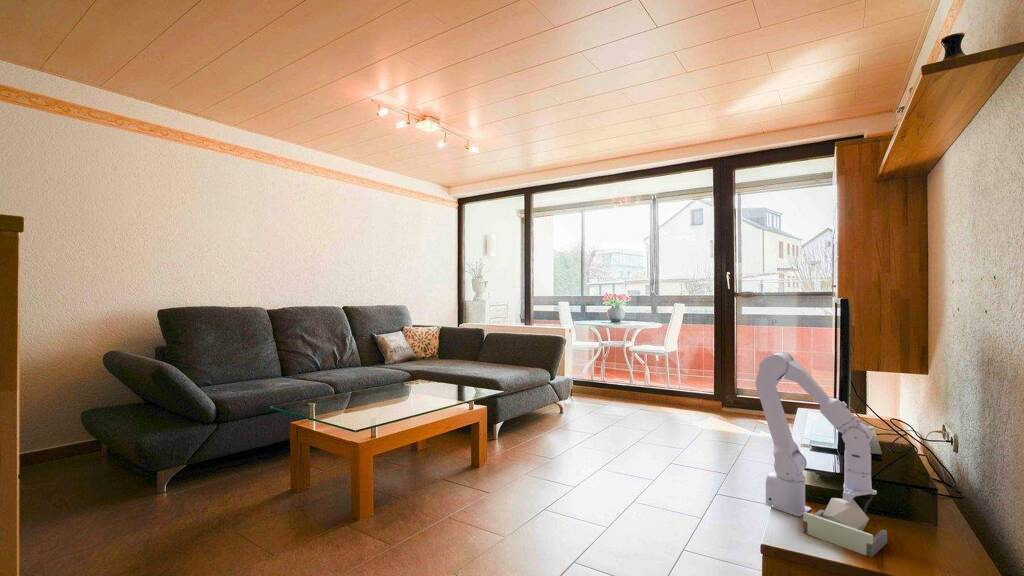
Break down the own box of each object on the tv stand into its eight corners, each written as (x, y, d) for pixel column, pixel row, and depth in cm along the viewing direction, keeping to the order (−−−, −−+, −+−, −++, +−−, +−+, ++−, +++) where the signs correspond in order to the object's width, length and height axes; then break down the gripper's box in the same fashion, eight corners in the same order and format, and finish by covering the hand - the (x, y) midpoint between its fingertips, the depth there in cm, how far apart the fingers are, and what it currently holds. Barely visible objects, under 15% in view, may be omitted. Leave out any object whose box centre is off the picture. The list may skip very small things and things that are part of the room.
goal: (803, 532, 124) (803, 512, 124) (820, 520, 131) (820, 501, 131) (871, 557, 112) (871, 535, 112) (887, 543, 119) (887, 522, 119)
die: (864, 548, 118) (881, 511, 120) (827, 524, 120) (843, 489, 123) (846, 543, 126) (862, 509, 128) (812, 521, 128) (828, 488, 131)
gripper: (866, 480, 119) (866, 536, 119) (885, 468, 128) (885, 519, 128) (833, 472, 125) (833, 525, 125) (854, 460, 134) (854, 510, 134)
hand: (857, 521), depth 127 cm, fingers closed
